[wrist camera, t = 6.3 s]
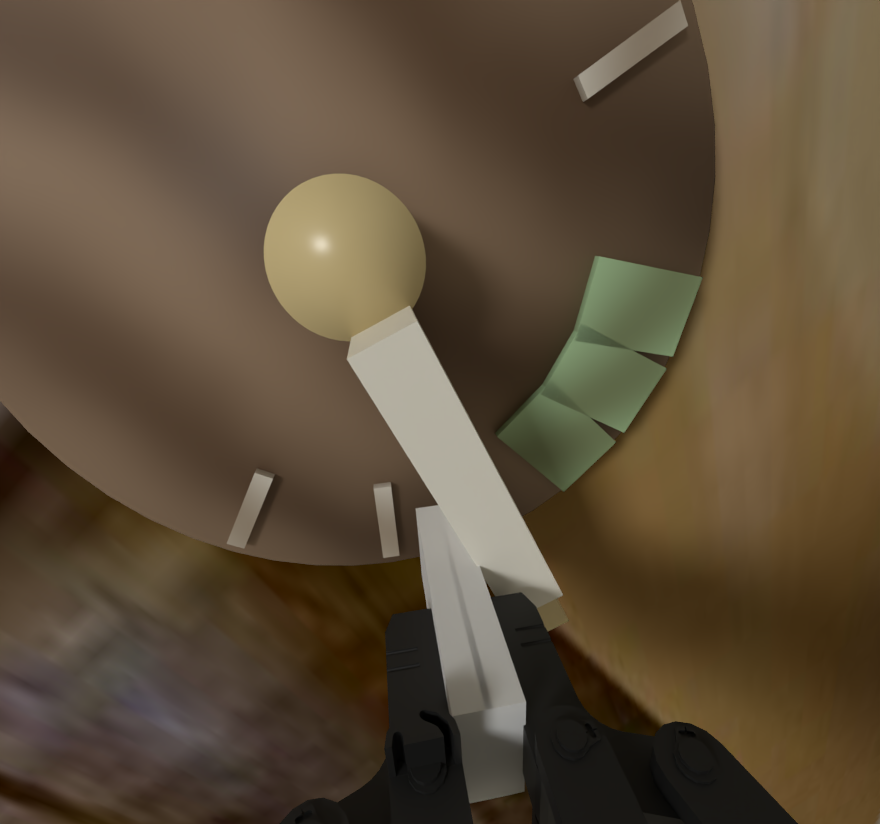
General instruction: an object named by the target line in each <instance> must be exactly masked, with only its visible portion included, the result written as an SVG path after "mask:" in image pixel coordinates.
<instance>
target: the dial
mask: <svg viewBox="0 0 880 824" xmlns="http://www.w3.org/2000/svg"><path fill="white" fill-rule="evenodd" d="M328 174H351V175H357V176H360V177H364V178H367V179H369V180H372V181H374V182H376V183H378V184H380V185H381V186H383V187H385V188H386V189H388V190H389V191H390V192H391V193H393V194H394V195H395V196H396V197H397V198H398V199H399V200H400V201H401V202H402V203H403V204H404V205H405V206H406V208H407V209H408V210H409V212H410V213H411V215H412V216H413V218H414V220H415V222H416V223H417V226H418V228H419V230H420V233H421V236H422V239H423V243H424V248H425V254H426V272H425V279H424V283H423V288H422V290H421V293H420V296H419V298H418V300H417V302H416V304H415V306H414V307H413V309H412V310H413V312H414V314H415V316H416V318H417V319H418V321H419V323H420V325H421V327H422V329H423V331H424V333H425V335H426V336H427V338H428V340H429V342H430V344H431V346H432V348H433V350H434V351H435V353H436V355H437V357H438V359H439V361H440V363H441V365H442V367H443V368H444V370H445V372H446V374H447V376H448V378H449V380H450V382H451V383H452V385H453V387H454V389H455V391H456V393H457V395H458V397H459V399H460V400H461V402H462V404H463V406H464V408H465V410H466V412H467V414H468V415H469V417H470V419H471V421H472V423H473V425H474V427H475V429H476V431H477V432H478V434H479V436H480V438H481V440H482V442H483V444H484V446H485V447H486V449H487V451H488V453H489V455H490V457H491V459H492V461H493V463H494V464H495V466H496V468H497V470H498V472H499V474H500V476H501V478H502V479H503V481H504V483H505V485H506V487H507V489H508V491H509V493H510V495H511V496H512V498H513V500H514V502H515V504H516V506H517V508H518V510H519V512H520V513H521V515H522V516H524V515H525V514H527V513H529V512H531V511H532V510H534V509H535V508H537V507H538V506H540V505H541V504H542V503H544V502H545V501H547V500H548V499H550V498H551V497H552V496H554V495H555V494H557V493H558V492H559V491H561V490H562V491H563V492H564V491H565V490H566V489H567V488H568V487H569V486H570V485H572V484H573V483H574V482H575V481H576V480H577V479H578V478H579V477H580V476H581V475H582V474H583V473H584V472H585V471H586V470H587V469H588V468H589V467H591V466H592V465H593V464H594V463H595V462H596V461H597V460H598V459H599V458H600V457H601V456H602V455H603V454H604V453H605V452H606V451H607V450H608V449H610V448H611V447H612V446H613V445H614V444H615V443H616V442H615V441H614V439H615V438H616V437H617V436H618V435H619V434H620V433H621V432H623V433H624V432H625V431H626V429H627V428H628V426H629V425H630V423H631V422H632V420H633V419H634V417H635V416H636V414H637V413H638V411H639V410H640V408H641V407H642V405H643V404H644V402H645V401H646V399H647V398H648V396H649V395H650V393H651V392H652V390H653V389H654V387H655V386H656V384H657V383H658V381H659V380H660V378H661V377H662V375H663V374H664V372H665V371H666V369H667V368H665V365H666V363H667V361H668V359H669V356H672V357H673V355H674V352H675V350H676V347H677V344H678V342H679V339H680V336H681V334H682V331H683V328H684V326H685V323H686V320H687V318H688V315H689V312H690V310H691V307H692V305H693V302H694V299H695V297H696V294H697V291H698V289H699V286H700V283H701V281H702V278H703V277H700V273H701V268H702V264H703V259H704V254H705V250H706V245H707V240H708V236H709V231H710V222H711V212H712V203H713V193H714V183H715V123H714V114H713V106H712V97H711V89H710V80H709V72H708V65H707V61H706V56H705V52H704V48H703V44H702V39H701V35H700V31H699V27H698V22H697V18H696V14H695V10H694V6H693V3H692V0H0V401H1V402H2V403H3V404H4V406H5V407H6V408H7V409H8V410H9V411H10V412H11V413H12V414H13V415H14V417H15V418H16V419H17V420H18V421H19V422H20V423H21V424H22V425H23V426H24V427H25V429H26V430H27V431H28V432H29V433H30V434H32V435H33V436H34V437H35V438H36V439H37V440H38V441H40V442H41V443H42V444H43V445H44V446H45V447H46V448H47V449H49V450H50V451H51V452H52V453H53V454H54V455H55V456H56V457H58V458H59V459H60V460H61V461H62V462H63V463H64V464H65V465H67V466H68V467H69V468H71V469H72V470H73V471H75V472H76V473H78V474H79V475H80V476H82V477H83V478H84V479H86V480H87V481H89V482H90V483H91V484H93V485H94V486H96V487H97V488H98V489H100V490H101V491H103V492H104V493H105V494H107V495H108V496H110V497H112V498H113V499H115V500H117V501H119V502H120V503H122V504H124V505H126V506H127V507H129V508H131V509H133V510H134V511H136V512H138V513H140V514H141V515H143V516H145V517H147V518H148V519H150V520H152V521H155V522H157V523H159V524H161V525H164V526H166V527H168V528H171V529H173V530H175V531H177V532H180V533H182V534H184V535H186V536H189V537H191V538H194V539H197V540H200V541H203V542H206V543H209V544H212V545H215V546H218V547H221V548H224V549H227V550H230V551H233V552H238V553H243V554H247V555H252V556H256V557H261V558H266V559H270V560H275V561H284V562H293V563H302V564H310V565H364V564H375V563H385V562H394V561H399V560H404V559H409V558H414V557H419V556H420V549H419V538H418V528H417V518H416V508H422V507H429V506H436V505H438V504H437V502H436V501H435V499H434V497H433V496H432V494H431V493H430V491H429V489H428V488H427V486H426V485H425V483H424V482H423V480H422V478H421V477H420V475H419V474H418V472H417V470H416V469H415V467H414V466H413V464H412V462H411V461H410V459H409V458H408V456H407V454H406V453H405V451H404V450H403V448H402V446H401V445H400V443H399V442H398V440H397V439H396V437H395V435H394V434H393V432H392V431H391V429H390V427H389V426H388V424H387V423H386V421H385V419H384V418H383V416H382V415H381V413H380V411H379V410H378V408H377V407H376V405H375V403H374V402H373V400H372V399H371V397H370V396H369V394H368V392H367V391H366V389H365V388H364V386H363V384H362V383H361V381H360V380H359V378H358V376H357V375H356V373H355V372H354V370H353V368H352V367H351V365H350V364H349V362H348V360H347V356H348V351H349V346H350V341H339V340H334V339H329V338H326V337H323V336H320V335H318V334H316V333H314V332H312V331H310V330H308V329H307V328H305V327H304V326H302V325H301V324H299V323H298V322H297V321H296V320H295V319H293V318H292V317H291V316H290V314H289V313H288V312H287V311H286V310H285V309H284V308H283V306H282V305H281V304H280V302H279V301H278V299H277V297H276V296H275V294H274V292H273V290H272V288H271V285H270V283H269V280H268V277H267V273H266V269H265V263H264V240H265V234H266V230H267V226H268V224H269V221H270V219H271V216H272V214H273V212H274V211H275V209H276V207H277V206H278V204H279V203H280V202H281V201H282V199H283V198H284V197H285V196H286V195H287V194H288V193H289V192H290V191H291V190H293V189H294V188H295V187H297V186H298V185H300V184H301V183H303V182H305V181H307V180H310V179H312V178H315V177H318V176H322V175H328Z"/></svg>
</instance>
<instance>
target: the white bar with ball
mask: <svg viewBox="0 0 880 824" xmlns="http://www.w3.org/2000/svg"><path fill="white" fill-rule="evenodd" d="M264 263H265V269H266V273H267V277H268V280H269V283H270V285H271V288H272V290H273V292H274V294H275V296H276V297H277V299H278V301H279V302H280V304H281V305H282V306H283V308H284V309H285V310H286V311H287V312H288V313H289V314H290V316H291V317H292V318H293V319H295V320H296V321H297V322H298V323H299V324H301V325H302V326H304V327H305V328H307V329H308V330H310V331H312V332H314V333H316V334H318V335H320V336H323V337H326V338H329V339H334V340H339V341H350V346H349V351H348V356H347V360H348V362H349V364H350V365H351V367H352V368H353V370H354V372H355V373H356V375H357V376H358V378H359V380H360V381H361V383H362V384H363V386H364V388H365V389H366V391H367V392H368V394H369V396H370V397H371V399H372V400H373V402H374V403H375V405H376V407H377V408H378V410H379V411H380V413H381V415H382V416H383V418H384V419H385V421H386V423H387V424H388V426H389V427H390V429H391V431H392V432H393V434H394V435H395V437H396V439H397V440H398V442H399V443H400V445H401V446H402V448H403V450H404V451H405V453H406V454H407V456H408V458H409V459H410V461H411V462H412V464H413V466H414V467H415V469H416V470H417V472H418V474H419V475H420V477H421V478H422V480H423V482H424V483H425V485H426V486H427V488H428V489H429V491H430V493H431V494H432V496H433V497H434V499H435V501H436V502H437V504H438V505H439V507H440V509H441V510H442V512H443V513H444V515H445V517H446V518H447V520H448V521H449V523H450V525H451V526H452V528H453V529H454V531H455V532H456V534H457V536H458V537H459V539H460V540H461V542H462V544H463V545H464V547H465V548H466V550H467V552H468V553H469V555H470V556H471V558H472V560H473V561H474V563H475V564H476V566H480V568H481V571H482V574H483V577H484V579H485V580H486V582H487V583H488V585H489V587H490V588H491V590H492V591H493V593H494V595H495V596H501V595H507V594H513V593H519V592H522V593H523V594H524V595H525V596H526V597H527V598H528V599H529V600H530V601H531V602H532V603H533V604H534V605H535V606H536V607H537V610H538V612H539V614H540V616H541V618H542V621H543V623H544V627H546V629H547V631H549V630H551V629H554V628H556V627H558V626H560V625H562V624H564V623H566V622H568V621H569V620H568V618H567V616H566V614H565V612H564V610H563V608H562V606H561V604H560V602H559V600H558V598H559V597H561V596H563V594H562V592H561V590H560V588H559V586H558V584H557V582H556V580H555V579H554V577H553V575H552V573H551V571H550V569H549V567H548V565H547V563H546V561H545V559H544V557H543V556H542V554H541V552H540V550H539V548H538V546H537V544H536V542H535V540H534V538H533V536H532V534H531V533H530V531H529V529H528V527H527V525H526V523H525V521H524V519H523V517H522V515H521V513H520V512H519V510H518V508H517V506H516V504H515V502H514V500H513V498H512V496H511V495H510V493H509V491H508V489H507V487H506V485H505V483H504V481H503V479H502V478H501V476H500V474H499V472H498V470H497V468H496V466H495V464H494V463H493V461H492V459H491V457H490V455H489V453H488V451H487V449H486V447H485V446H484V444H483V442H482V440H481V438H480V436H479V434H478V432H477V431H476V429H475V427H474V425H473V423H472V421H471V419H470V417H469V415H468V414H467V412H466V410H465V408H464V406H463V404H462V402H461V400H460V399H459V397H458V395H457V393H456V391H455V389H454V387H453V385H452V383H451V382H450V380H449V378H448V376H447V374H446V372H445V370H444V368H443V367H442V365H441V363H440V361H439V359H438V357H437V355H436V353H435V351H434V350H433V348H432V346H431V344H430V342H429V340H428V338H427V336H426V335H425V333H424V331H423V329H422V327H421V325H420V323H419V321H418V319H417V318H416V316H415V314H414V312H413V310H412V309H413V307H414V306H415V304H416V302H417V300H418V298H419V296H420V293H421V290H422V288H423V283H424V279H425V272H426V254H425V248H424V243H423V239H422V236H421V233H420V230H419V228H418V226H417V223H416V222H415V220H414V218H413V216H412V215H411V213H410V212H409V210H408V209H407V208H406V206H405V205H404V204H403V203H402V202H401V201H400V200H399V199H398V198H397V197H396V196H395V195H394V194H393V193H391V192H390V191H389V190H388V189H386V188H385V187H383V186H381V185H380V184H378V183H376V182H374V181H372V180H369V179H367V178H364V177H360V176H357V175H351V174H328V175H322V176H318V177H315V178H312V179H310V180H307V181H305V182H303V183H301V184H300V185H298V186H297V187H295V188H294V189H293V190H291V191H290V192H289V193H288V194H287V195H286V196H285V197H284V198H283V199H282V201H281V202H280V203H279V204H278V206H277V207H276V209H275V211H274V212H273V214H272V216H271V219H270V221H269V224H268V226H267V230H266V234H265V240H264Z"/></svg>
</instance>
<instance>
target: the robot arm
mask: <svg viewBox="0 0 880 824" xmlns="http://www.w3.org/2000/svg"><path fill="white" fill-rule="evenodd" d="M416 518H417V528H418V538H419V549H420V559H421V570H422V579H423V585H424V591H425V597H426V604H427V609H423V610H417V611H411V612H405V613H399V614H393V615H392V618H391V620H390V623H389V625H388V627H387V630H386V632H385V636H386V659H387V682H388V705H389V727H390V728H389V730H388V731H387V735H386V741H385V748H384V749H385V755H386V759H385V761H384V763H383V764H382V766H381V768H380V770H379V771H378V772H377V774H376V775H375V776H374V777H373V778H372V779H371V780H370V781H369V782H368V783H367V784H365V785H364V786H363V787H362V788H360V789H359V790H357V791H355V792H354V793H352V794H350V795H349V796H347V797H346V798H344V799H342V800H341V801H339V802H338V803H337V802H334V801H331V800H328V799H325V798H318V799H312V800H307V801H306V802H304V803H302V804H301V805H299V806H297V807H296V808H294V809H293V810H292V811H291V812H290V813H289V814H288V815H287V816H286V817H285V818H284V820H283V821H282V822H281V823H280V824H473V820H472V815H471V809H470V803H474V802H478V801H483V800H487V799H493V798H497V797H502V796H506V795H511V794H515V793H520V792H524V778H525V782H526V785H527V789H528V792H529V796H530V799H531V803H532V806H533V809H532V824H798V823H797V822H796V821H795V820H794V819H793V818H792V817H791V816H790V815H789V814H788V813H787V812H786V811H785V810H784V809H783V808H782V807H781V806H780V805H779V803H778V802H777V801H776V800H775V799H774V798H773V797H772V796H771V795H770V794H769V793H768V792H767V791H766V790H765V789H764V788H763V787H762V786H761V785H760V784H759V783H758V782H757V780H756V779H755V778H754V777H753V776H752V775H751V774H750V773H749V772H748V771H747V770H746V769H745V768H744V767H743V766H742V765H741V764H740V763H739V762H738V761H737V760H736V759H735V757H734V756H733V755H732V754H731V753H730V752H729V751H728V750H727V749H726V748H725V747H724V746H723V745H722V744H721V743H720V742H719V741H718V740H716V739H715V738H714V737H713V736H712V735H710V734H709V733H708V732H707V731H705V730H703V729H701V728H699V727H697V726H694V725H692V724H690V723H683V722H672V723H668V724H664V725H663V726H662V727H661V728H660V729H659V730H658V731H657V732H656V734H655V737H653V736H647V735H641V734H634V733H628V732H622V731H619V730H615V729H612V728H610V727H608V726H606V725H604V724H602V723H600V722H599V721H597V720H596V719H595V718H593V717H592V716H591V715H590V714H589V713H588V712H587V711H586V710H585V708H584V707H583V706H582V704H581V702H580V701H579V699H578V697H577V695H576V693H575V691H574V689H573V686H572V684H571V682H570V680H569V678H568V675H567V673H566V671H565V669H564V667H563V664H562V662H561V660H560V658H559V656H558V653H557V651H556V649H555V647H554V645H553V643H552V642H551V638H550V636H549V634H548V632H547V629H546V627H544V623H543V621H542V618H541V616H540V614H539V612H538V610H537V607H536V606H535V605H534V604H533V603H532V602H531V601H530V600H529V599H528V598H527V597H526V596H525V595H524V594H523V593H522V592H519V593H513V594H507V595H501V596H495V597H490V595H489V592H488V589H487V586H486V583H485V580H484V577H483V574H482V571H481V568H480V566H476V564H475V563H474V561H473V560H472V558H471V556H470V555H469V553H468V552H467V550H466V548H465V547H464V545H463V544H462V542H461V540H460V539H459V537H458V536H457V534H456V532H455V531H454V529H453V528H452V526H451V525H450V523H449V521H448V520H447V518H446V517H445V515H444V513H443V512H442V510H441V509H440V507H439V505H436V506H429V507H422V508H416Z"/></svg>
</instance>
